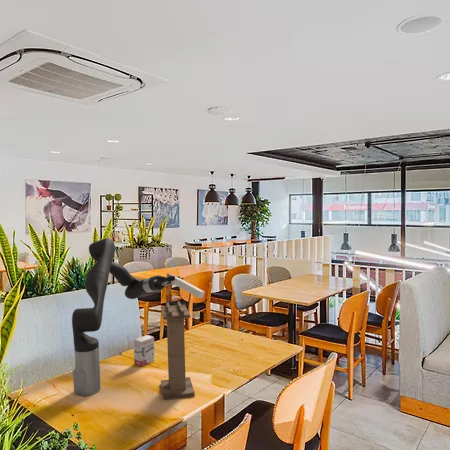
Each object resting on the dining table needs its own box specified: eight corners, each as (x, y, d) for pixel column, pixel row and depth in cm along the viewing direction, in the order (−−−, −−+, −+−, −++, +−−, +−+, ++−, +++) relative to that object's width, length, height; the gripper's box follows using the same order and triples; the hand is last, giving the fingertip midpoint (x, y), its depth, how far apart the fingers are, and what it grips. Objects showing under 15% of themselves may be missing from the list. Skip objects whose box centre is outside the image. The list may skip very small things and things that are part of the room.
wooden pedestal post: (160, 383, 163) (158, 303, 161) (189, 379, 165) (187, 300, 164) (163, 401, 147) (160, 313, 145) (195, 397, 150) (192, 310, 148)
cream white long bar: (165, 279, 191) (167, 273, 191) (170, 279, 194) (172, 273, 194) (198, 298, 176) (200, 291, 176) (203, 298, 178) (205, 291, 178)
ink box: (141, 367, 180) (140, 341, 179) (133, 364, 183) (133, 339, 182) (155, 360, 186) (154, 336, 186) (148, 358, 190) (147, 334, 189)
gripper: (142, 275, 195) (165, 269, 184) (163, 277, 205) (187, 271, 195) (143, 291, 192) (166, 285, 182) (164, 291, 203) (188, 286, 193)
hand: (177, 278), depth 189 cm, fingers closed on cream white long bar, 3 cm apart
